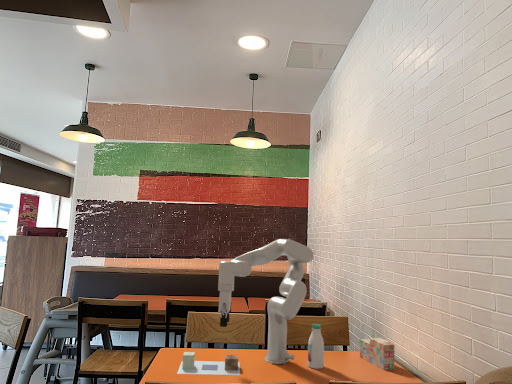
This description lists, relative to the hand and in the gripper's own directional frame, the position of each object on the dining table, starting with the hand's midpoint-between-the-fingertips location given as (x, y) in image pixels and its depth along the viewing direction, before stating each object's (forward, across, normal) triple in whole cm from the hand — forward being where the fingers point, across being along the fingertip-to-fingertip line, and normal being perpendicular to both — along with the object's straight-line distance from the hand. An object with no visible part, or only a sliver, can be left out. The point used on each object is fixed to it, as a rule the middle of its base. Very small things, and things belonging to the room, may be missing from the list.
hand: (224, 324), depth 184 cm
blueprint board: (+20, 0, -6) cm, 21 cm away
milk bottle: (+21, -11, +44) cm, 50 cm away
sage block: (+20, +1, -16) cm, 25 cm away
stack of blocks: (+22, -22, +77) cm, 83 cm away
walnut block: (+20, 0, +4) cm, 20 cm away
